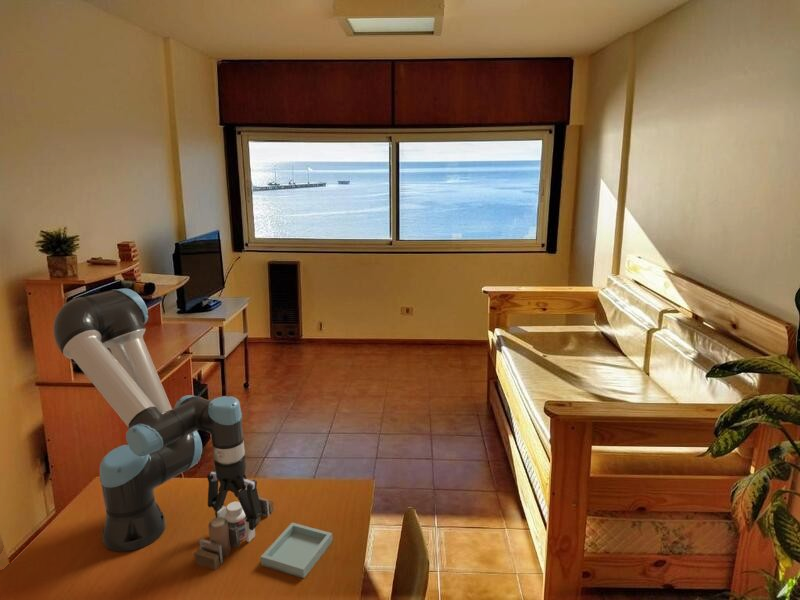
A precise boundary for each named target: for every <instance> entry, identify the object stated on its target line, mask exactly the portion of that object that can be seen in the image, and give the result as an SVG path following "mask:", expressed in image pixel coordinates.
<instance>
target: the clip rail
mask: <svg viewBox="0 0 800 600" xmlns="http://www.w3.org/2000/svg"><path fill="white" fill-rule="evenodd" d="M259 501H260V505H261V509H262V514H261V516H263V517H267V518H268V517H270V515H272V514H273V513H274V512H275V507H274V506H275V505H274V501H273V500H270V499H268V498H264V497H260V496H259ZM246 518H247V517H246ZM228 529H229V539H230V547H231V546H232V547H236V548H239V547H240V546H241V540H240V537H239V528H237V527H234V526H230V525H228ZM198 543H199V548H198V549H197V550H196V551H195V552H194V553H193V555H194V562H195V564H196V565H199V566H202V567H206V568H208V569H211V570H214V571H216V570H217V569H218V568H219V567H220V566H221V565H222V564H223V563H224V560H223V558H224V557H222V548H221V544H217V543H214V542H211V541H210V540H207V539H205V538H200V539H199V541H198Z"/></svg>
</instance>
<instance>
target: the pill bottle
mask: <svg viewBox="0 0 800 600" xmlns="http://www.w3.org/2000/svg"><path fill="white" fill-rule="evenodd" d="M226 512H227V513H226V515H225V519H226V520H227V521H228V525H230V526H234V527H237V528H239V537H240V541H242V540H244V539H246V530H245V519H246V515H245V513H244V511H243V508H242V506H241V504H240V502H239V501H232V502H230V503H228V504H227V505H226Z"/></svg>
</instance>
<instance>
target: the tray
mask: <svg viewBox="0 0 800 600" xmlns="http://www.w3.org/2000/svg"><path fill="white" fill-rule="evenodd" d="M333 541H334V540H333V532H329V531H327V530H326V531H325V530H321V529H318V528H313V527H310V526H306V525H304V524H299V523H296V522H291V523H290V524H289V525H288V526H287V527H286V528H285V530H283V531H282V533H281V534H280V535H279V536H278V537H277V538H276V539H275V541H273V542H272V543H271V544H270V546H269V547H268V548H267V549H266V550H265V551H264V553H263V554H261V555H260V563H261V566H263V567H266V568H269V569H272V570H276V571H279V572H282V573H286V574H288V575H292V576H295V577H298V578H302V579H305V578H306V577H307V575H308V574H309V573H310V571H311V570H312V569H313V568H314V567H315V565H316V564H317V563H318V561H319V560H320V559H321V557H322V556H323V554H324V553H326V551H327V550H328V548H329V547H330V546H331V544H332V543H333Z"/></svg>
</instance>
